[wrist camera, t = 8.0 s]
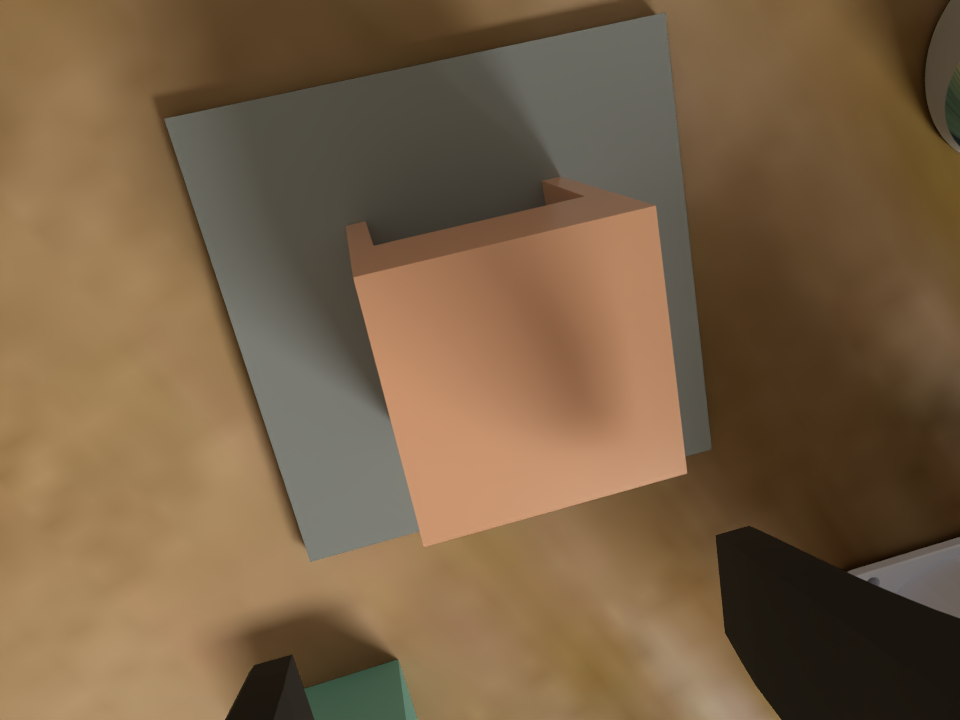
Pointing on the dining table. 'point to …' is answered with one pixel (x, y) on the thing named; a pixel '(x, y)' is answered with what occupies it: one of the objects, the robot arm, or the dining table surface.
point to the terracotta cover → (524, 358)
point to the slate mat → (415, 230)
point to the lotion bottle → (945, 75)
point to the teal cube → (363, 696)
